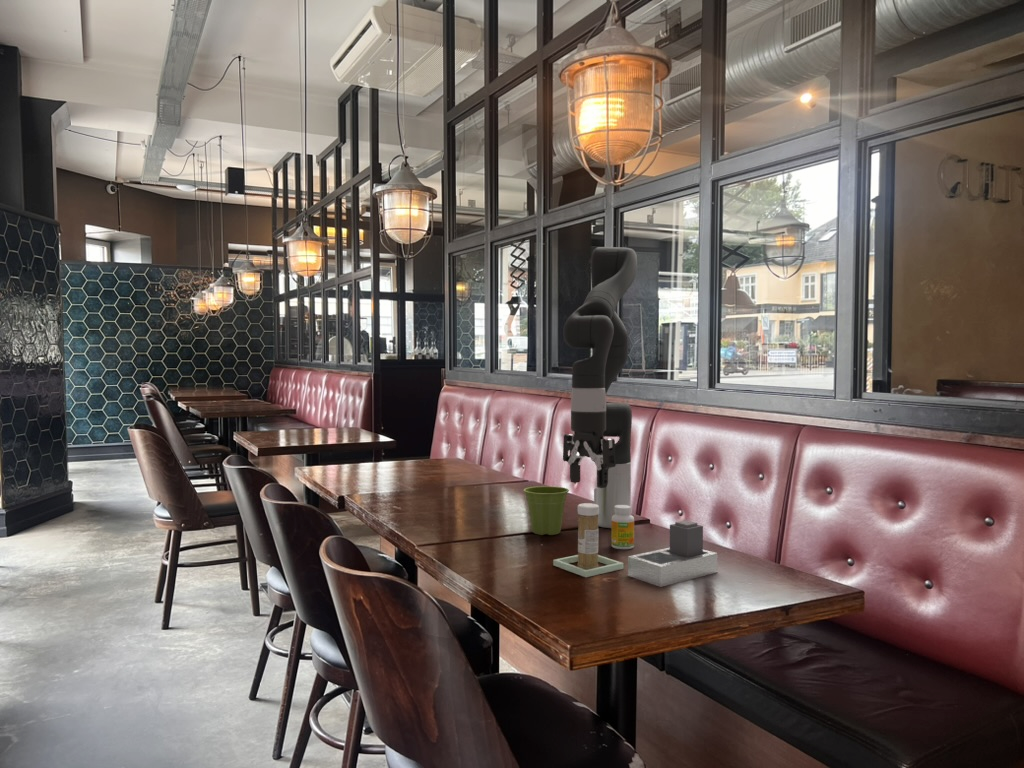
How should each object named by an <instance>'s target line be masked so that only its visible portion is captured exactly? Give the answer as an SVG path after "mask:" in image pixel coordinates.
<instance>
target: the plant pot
mask: <svg viewBox="0 0 1024 768" xmlns="http://www.w3.org/2000/svg"><path fill="white" fill-rule="evenodd" d="M523 492H524V493H525V497H526V500H527V504H528V512H529V517H530V519H529V520H530V523H531V524H530V525H531V531H532V533H534V534H535V535H539V536H544V535H548V536H554V535H558V534H560V533H561V530H562V522H563V517H564V516H563V515H564V508H565V504H566V501H567V496H568V493H569V492H570V489H569V488H567V487H561V486H550V485H548V486H547V485H546V486H545V485H543V486H539V485H538V486H530V487H526V488H524V489H523Z"/></svg>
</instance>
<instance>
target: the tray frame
mask: <svg viewBox="0 0 1024 768" xmlns="http://www.w3.org/2000/svg"><path fill="white" fill-rule="evenodd" d="M552 563H553V566H554V567H557V568H559V569H562V570H565V571H567V572H570V573H573V574H576V575H579V576H580V577H583V578H589V577H594V576H598V575H601V574H607V573H611V572H616V571H619V570H624V562H621V561H619V560H615V559H611V558H610V557H609V558H608V557H606V556H603V555H600V554H598V563H601V564H604V565H603V566H602V565H601V566H598V567H597V568H593V569H582V568H579V567H578V566H577V565H574V564H572V563H578V554H575V555H571V556H565V557H561V558H556V559H553V562H552Z"/></svg>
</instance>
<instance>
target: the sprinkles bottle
mask: <svg viewBox="0 0 1024 768" xmlns="http://www.w3.org/2000/svg"><path fill="white" fill-rule="evenodd" d="M577 514H578V515H577V516H578V518H577V519H578V521H577V522H578V523H577V524H578V529H577V530H578V531H577V552H578V553H577V555H578V562H577V567H579V568H582V569H585V570H588V569H593V568H597V567H599V562H598V555H599V554H598V553H599V526H598V516H599V515H598V514H599V506H598V505H597V504H594V503H591V502H590V503H589V502H584V503H579V504H578V505H577Z"/></svg>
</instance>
